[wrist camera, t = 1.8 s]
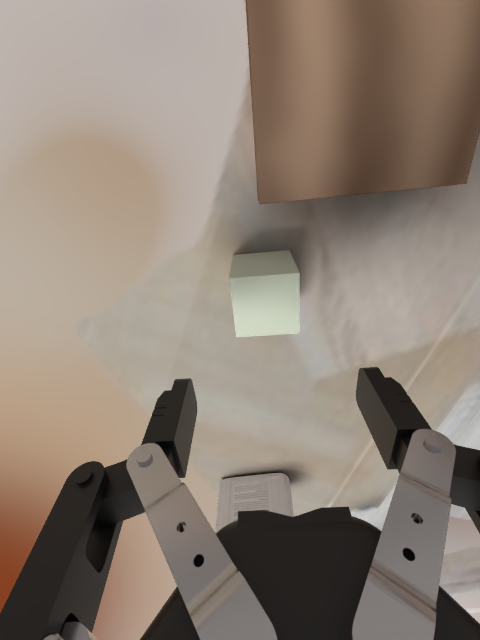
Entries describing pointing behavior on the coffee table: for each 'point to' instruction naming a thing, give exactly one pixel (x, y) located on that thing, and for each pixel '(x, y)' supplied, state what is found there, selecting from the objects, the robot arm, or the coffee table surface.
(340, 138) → the walnut block
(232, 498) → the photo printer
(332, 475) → the coffee table surface
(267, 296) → the sage block
